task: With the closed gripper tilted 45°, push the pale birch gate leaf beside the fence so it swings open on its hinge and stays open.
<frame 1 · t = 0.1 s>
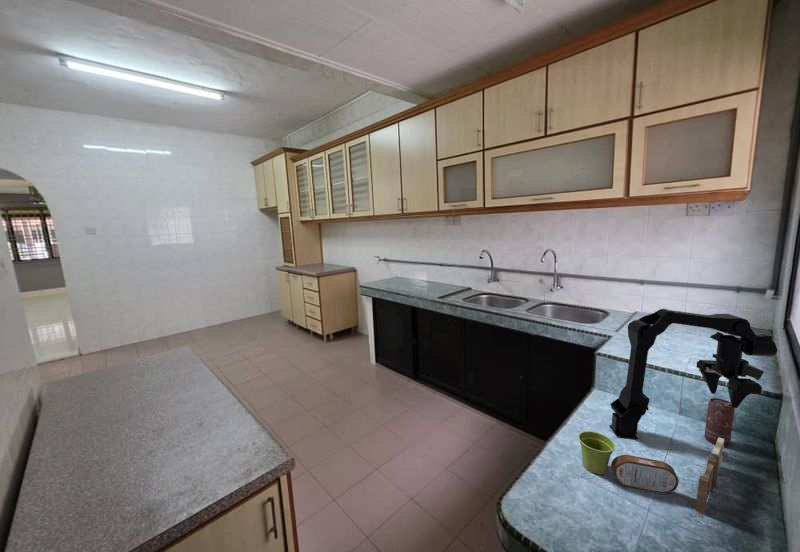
hand: (723, 400, 106), 15 cm above the countertop, tool pointing down, fingers open, 9 cm apart
gate leaf: (718, 462, 92), point 5 cm above the countertop, hinge at 0.0°
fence: (710, 485, 90), on the countertop
can: (717, 442, 108), on the countertop
tin: (642, 488, 89), on the countertop
plant pot: (594, 468, 97), on the countertop
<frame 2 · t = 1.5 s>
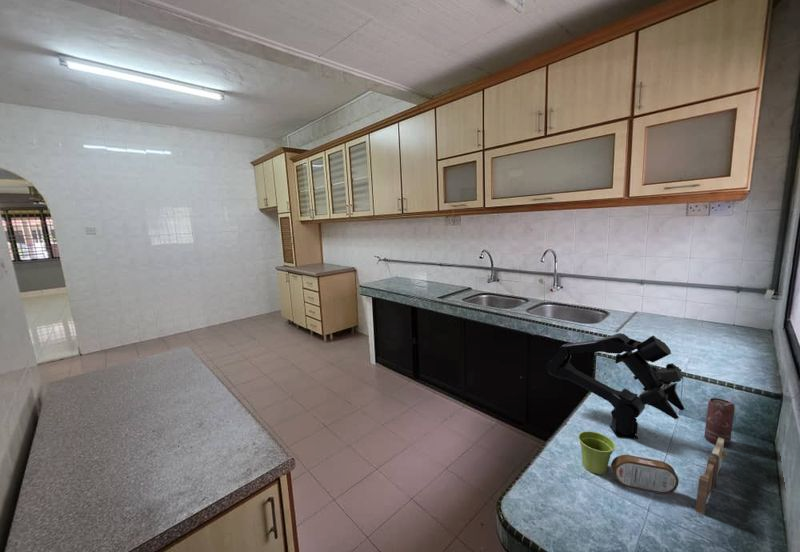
hand: (680, 414, 100), 13 cm above the countertop, tool tilted 45°, fingers open, 7 cm apart
nothing on the countertop moved.
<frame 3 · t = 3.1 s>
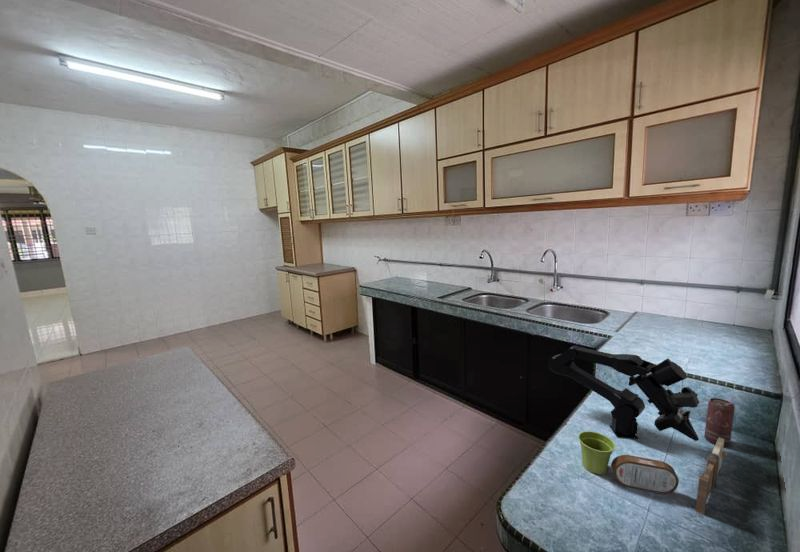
hand: (697, 440, 98), 7 cm above the countertop, tool tilted 45°, fingers closed
nothing on the countertop moved.
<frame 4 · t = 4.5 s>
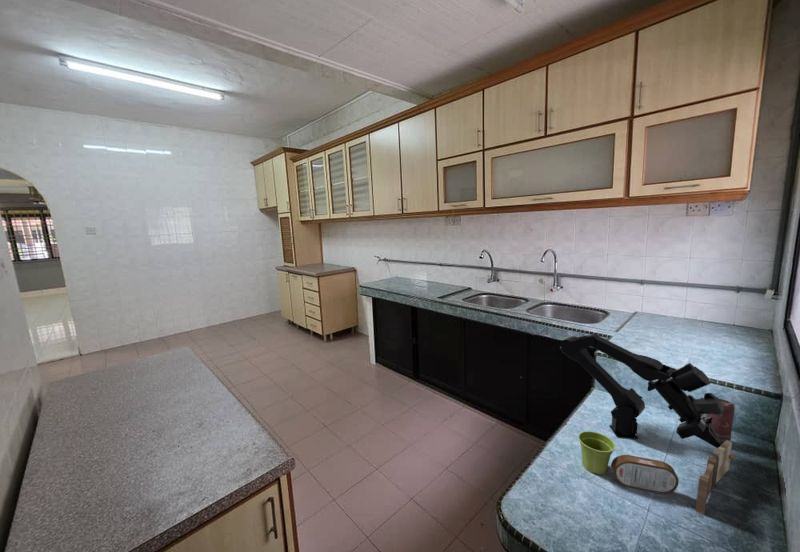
hand: (721, 448, 94), 7 cm above the countertop, tool tilted 45°, fingers closed, pressing on gate leaf
gate leaf: (721, 463, 91), point 5 cm above the countertop, hinge at -8.1°, touching gripper
everything else where it was.
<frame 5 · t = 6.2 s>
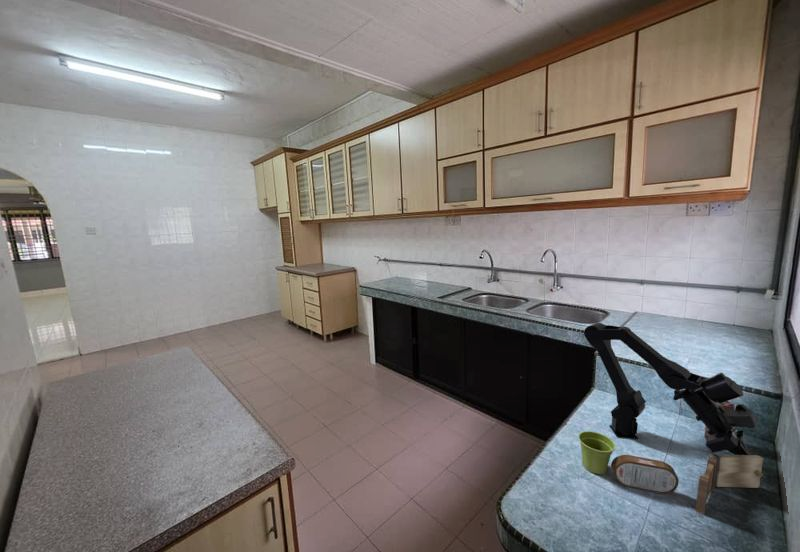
hand: (752, 463, 89), 6 cm above the countertop, tool tilted 45°, fingers closed
gate leaf: (735, 472, 88), point 5 cm above the countertop, hinge at -41.8°, touching gripper
everything else where it was.
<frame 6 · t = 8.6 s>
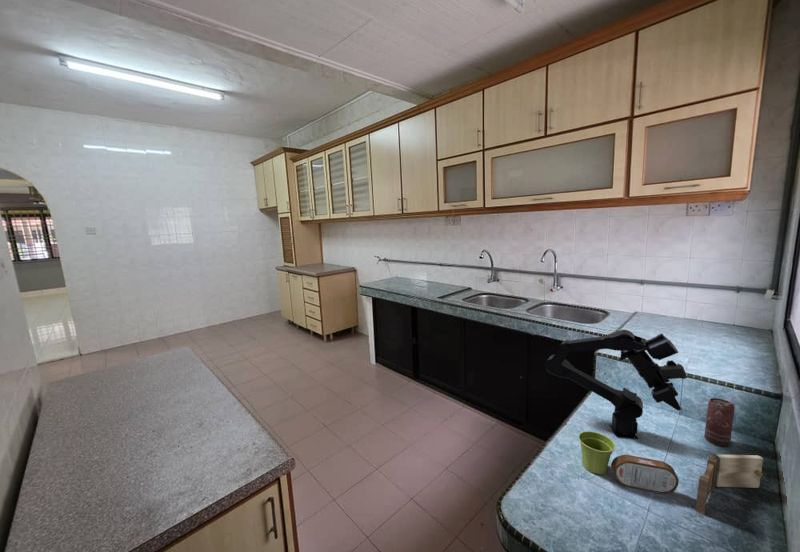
hand: (679, 409, 103), 13 cm above the countertop, tool tilted 40°, fingers closed
gate leaf: (735, 472, 88), point 5 cm above the countertop, hinge at -41.9°
everything else where it was.
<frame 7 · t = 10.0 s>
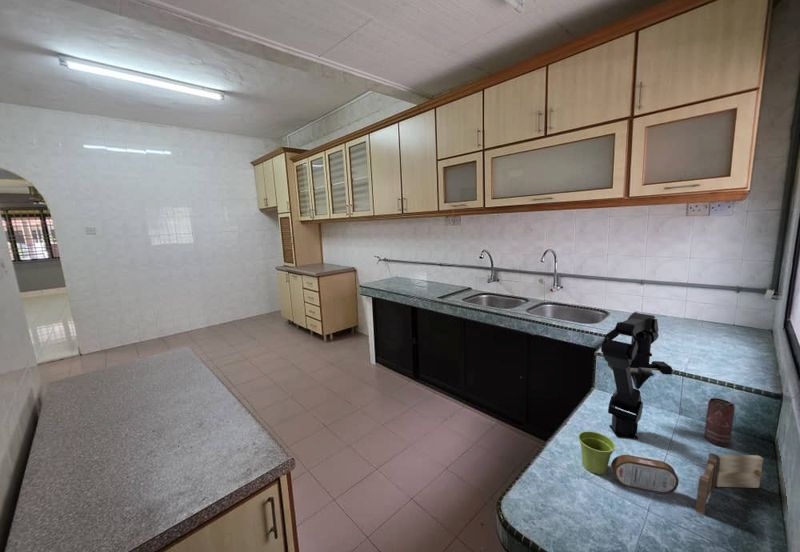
hand: (637, 388, 120), 12 cm above the countertop, tool pointing down, fingers closed
nothing on the countertop moved.
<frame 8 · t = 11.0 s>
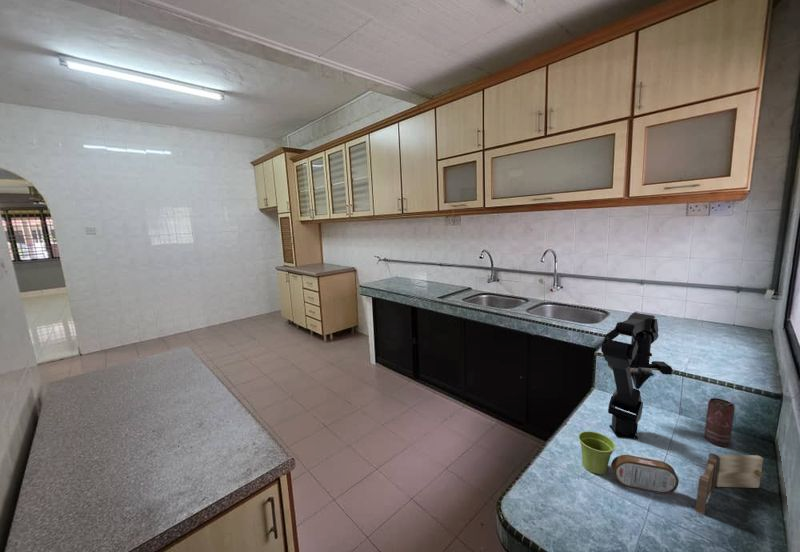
hand: (637, 388, 120), 12 cm above the countertop, tool pointing down, fingers closed
nothing on the countertop moved.
at the end: gate leaf at -42° (first picture: +0°); can moved 0.2 cm from its start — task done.
